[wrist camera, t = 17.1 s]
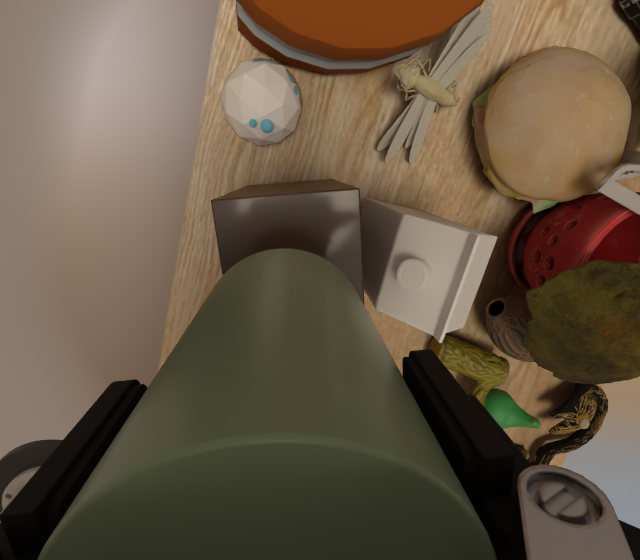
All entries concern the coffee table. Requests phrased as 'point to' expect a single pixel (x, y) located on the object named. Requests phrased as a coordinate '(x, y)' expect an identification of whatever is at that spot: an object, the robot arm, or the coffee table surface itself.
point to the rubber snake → (574, 422)
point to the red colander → (572, 238)
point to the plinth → (293, 223)
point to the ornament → (262, 101)
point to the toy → (434, 84)
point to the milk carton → (421, 266)
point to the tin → (275, 440)
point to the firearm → (631, 10)
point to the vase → (509, 325)
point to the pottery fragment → (587, 323)
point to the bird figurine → (484, 379)
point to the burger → (552, 126)
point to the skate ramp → (636, 163)
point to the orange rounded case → (346, 30)
